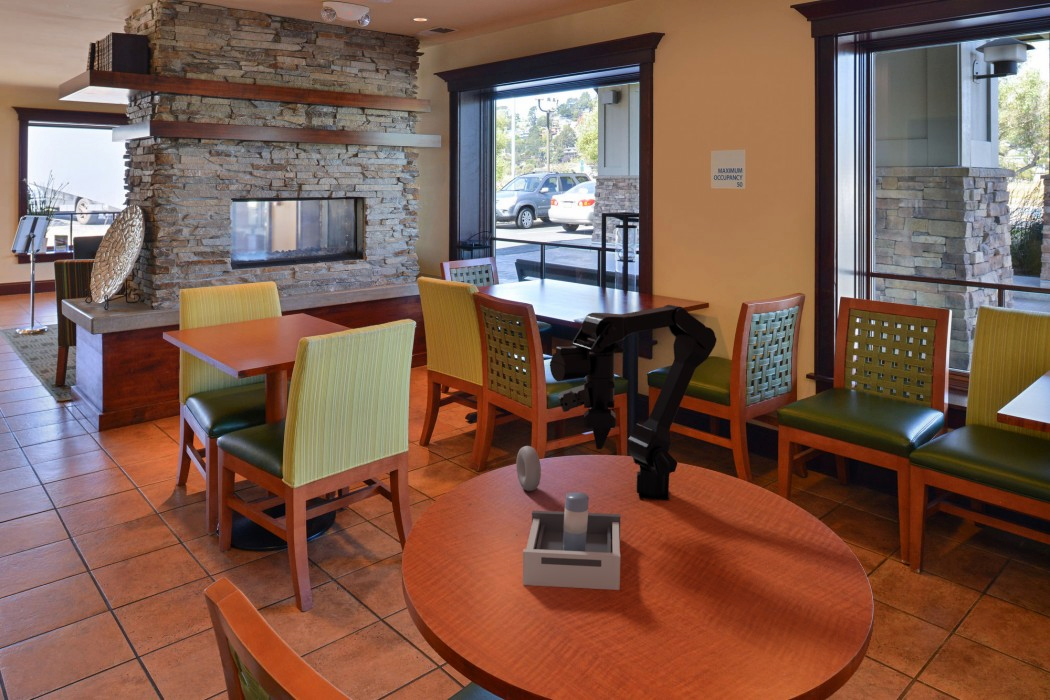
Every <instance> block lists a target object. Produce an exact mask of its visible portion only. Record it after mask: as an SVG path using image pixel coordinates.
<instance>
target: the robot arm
mask: <svg viewBox="0 0 1050 700" xmlns="http://www.w3.org/2000/svg"><path fill="white" fill-rule="evenodd" d="M662 328H667V329H668V331H669V333H670V334H672V336H674V342H673V347H672V348H673V357H674V359H673V362H672V365H671V366H670V369H669V371H668V374H667V376H666V378H665V380H664V383H663V385H662V387H661V388H660V389H661V390H660V391H659V394H658V397H657V398H656V401H655V404H654V406H653V408H652V411H651V413H650V414H649V417H648V418H647V420H646V421H644V423H642V424H639V423H635V425H634V426H633V429H632V432H631V435H630V436H629V438H627V441H629V442H628V446H627V449H628V452H629V455H630V456H631V457H632V459H633V463H634V465H638V466H639V470H638V471H636V488H635V489H636V493H637V494H638V499H640V500H654V501H656V500H659V501H670V493H669V492H670V491H669V490H670V475H671V473H674V472H676V470H677V466H678V461H677V460H676V459H675V458H674V457H673V456H672V455H671V454H670V453H669V451H670V448H671V427H672V424H673V423H674V422H673V421H674V420H675V417H676V415H677V413H678V410H679V408H680V406H681V403H682V401H683V399H684V397H685V394H686V393H687V389H688V387H689V385H690V383H691V381H692V378H693V375H694V373H695V371H696V369H697V368H698V367H699V366H700V365H702V364H703V363H704V362H705V361H707V360H708V358H709V357H710V354H712V352H713V350H714V348H715V346H716V343H717V337H716V333H715V331H714V330H713V329H712V327H708V326H706V325H705V324H704V323H702V322H701V321H700V320H698V318H695V317H694V316H693V315H691V314H690V313H689V311H687V310H686V309H685V308H684V307H682V306H680V305H679V306H678V305H673V304H666V305H664V306H660V307H655V308H649V309H644V310H643V309H642V310H639V311H632V312H626V313H611V312H610V313H609V312H591V313H588V314H587V315H586V316H585V317H584V319H583V321H582V324H581V327H579V330H578V331H577V333H576V334H575V336H574V338H573V340H572V341H571V342H570V346H561V345H560V346H556V347H555V353H553V354H552V356H551V360H550V362H549V369H550V373H551V376H552V378H553V380H555V381H556V382H558V383H559V382H565V381H572V380H573V381H574V380H577V379H578V380H579V379H580V380H581V379H584V384H582V385H579V386H575V387H572V388H569V389H567V390H563V391H561V392H559V393H558V396H557V399H558V402H559V406H560V408H561V410H562V412H564V413H566V412H570V410H572V409H576V408H579V407H581V406H583V409H587V410H586V411H585V412H584V413H583V428H586V429H587V428H588V429H592V433H593V439H594V442H595V447H596V450H602V449H603V447H604V445H605V443H606V440H607V438H608V436H609V434H610V431H611V430H612V429H615V428H616V422H617V421H616V413H615V412H614V411H613V410H612V409H614V408H615V354H621V353H622V354H623V353H624V352H625V348H623V347H622V346H620V344H619V343H618V342H621V341H623V340H625V338H626V337H628V336H630V335H632V334H637V333H640V332H642V333H643V332H646V331H652V330H657V329H662ZM588 340H589V341H588Z"/></svg>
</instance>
